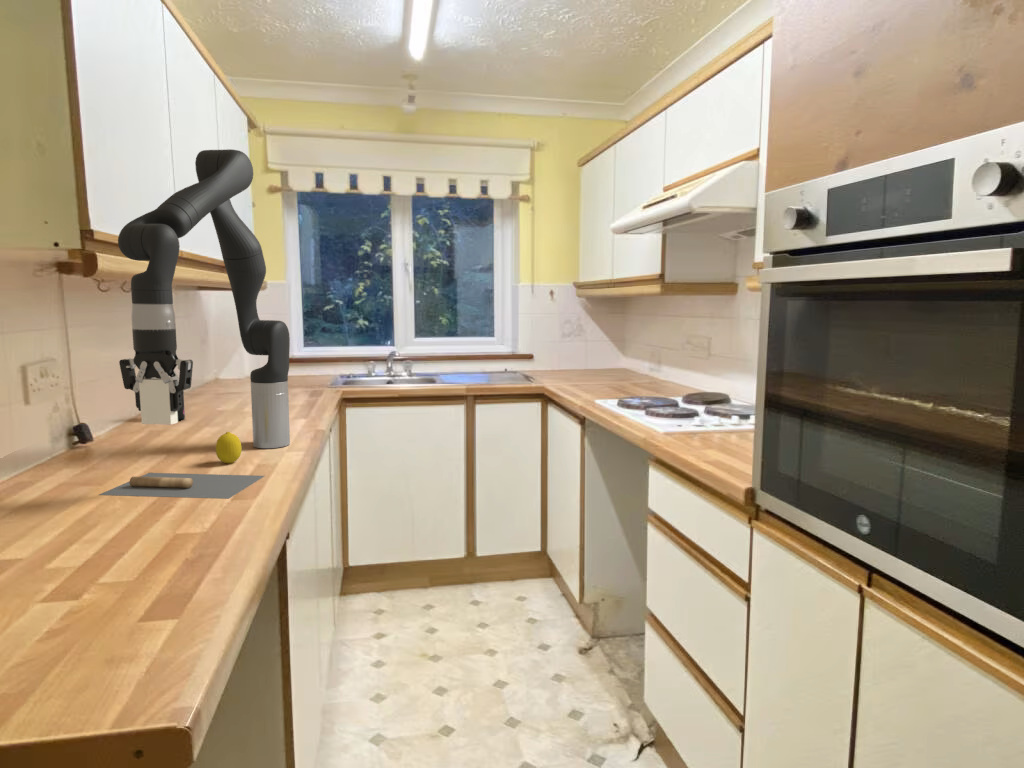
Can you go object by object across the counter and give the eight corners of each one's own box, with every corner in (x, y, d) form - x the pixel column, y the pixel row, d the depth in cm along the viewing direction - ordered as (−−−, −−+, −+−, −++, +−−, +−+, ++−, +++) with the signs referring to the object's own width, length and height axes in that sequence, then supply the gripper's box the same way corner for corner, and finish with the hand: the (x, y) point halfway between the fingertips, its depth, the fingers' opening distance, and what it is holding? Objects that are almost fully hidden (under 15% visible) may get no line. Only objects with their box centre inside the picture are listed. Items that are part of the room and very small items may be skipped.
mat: (149, 475, 138) (149, 472, 138) (265, 478, 137) (265, 475, 137) (98, 497, 122) (98, 494, 122) (228, 501, 121) (228, 498, 121)
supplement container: (186, 421, 199) (184, 388, 197) (161, 423, 195) (159, 390, 194) (184, 418, 205) (182, 386, 203) (160, 419, 201) (159, 387, 200)
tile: (149, 421, 128) (146, 377, 127) (178, 422, 128) (175, 378, 127) (141, 424, 126) (138, 379, 124) (170, 424, 125) (168, 379, 124)
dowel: (136, 484, 129) (135, 475, 129) (193, 486, 128) (192, 476, 128) (129, 487, 127) (129, 478, 127) (187, 489, 127) (187, 479, 126)
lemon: (214, 468, 144) (212, 434, 143) (218, 462, 149) (217, 429, 148) (240, 467, 146) (239, 433, 145) (243, 461, 151) (242, 428, 150)
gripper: (199, 326, 128) (204, 408, 130) (131, 325, 128) (136, 407, 131) (178, 328, 120) (183, 414, 122) (105, 327, 121) (112, 413, 123)
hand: (159, 410), depth 126 cm, fingers closed on tile, 6 cm apart
